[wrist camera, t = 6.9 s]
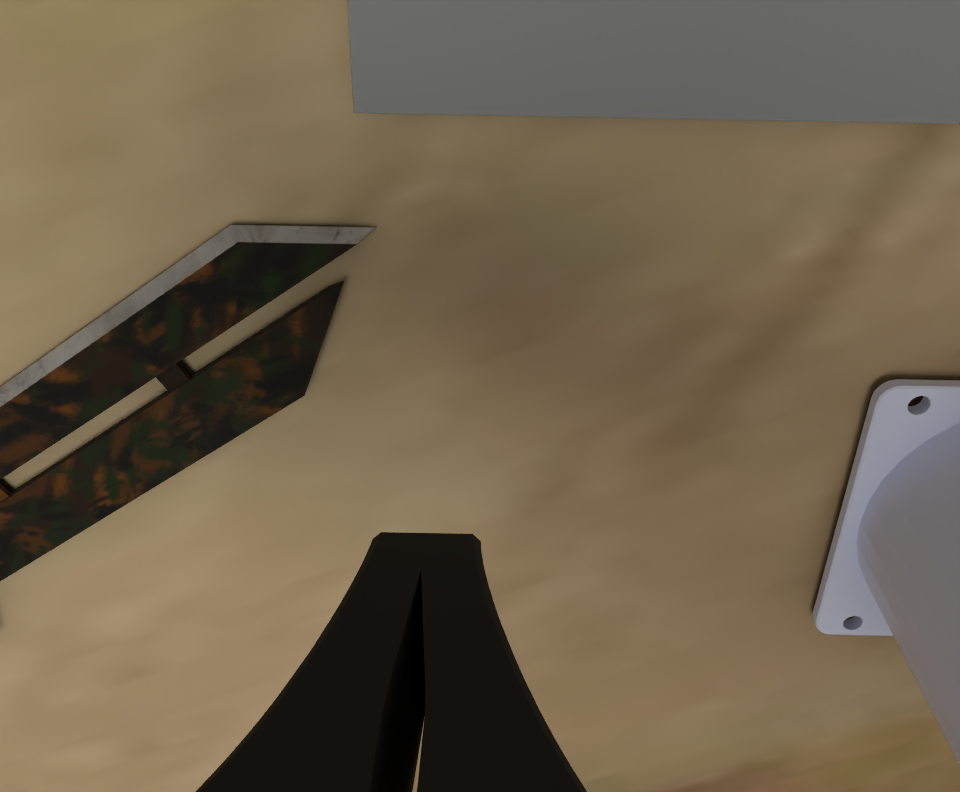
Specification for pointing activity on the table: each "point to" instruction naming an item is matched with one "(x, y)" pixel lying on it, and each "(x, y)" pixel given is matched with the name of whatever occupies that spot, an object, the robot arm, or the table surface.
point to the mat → (660, 59)
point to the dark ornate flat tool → (162, 380)
